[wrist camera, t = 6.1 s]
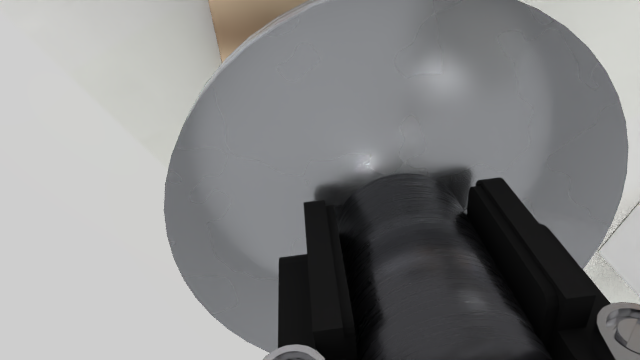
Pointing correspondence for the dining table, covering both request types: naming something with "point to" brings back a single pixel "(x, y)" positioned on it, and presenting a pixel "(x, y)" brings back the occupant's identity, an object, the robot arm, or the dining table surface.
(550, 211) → the lid
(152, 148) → the dining table surface
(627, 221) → the milk
